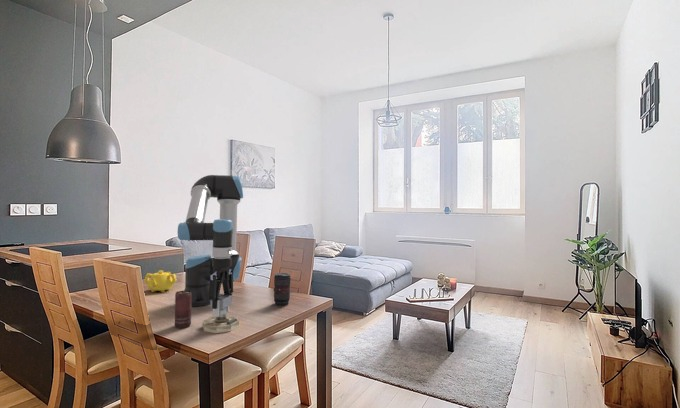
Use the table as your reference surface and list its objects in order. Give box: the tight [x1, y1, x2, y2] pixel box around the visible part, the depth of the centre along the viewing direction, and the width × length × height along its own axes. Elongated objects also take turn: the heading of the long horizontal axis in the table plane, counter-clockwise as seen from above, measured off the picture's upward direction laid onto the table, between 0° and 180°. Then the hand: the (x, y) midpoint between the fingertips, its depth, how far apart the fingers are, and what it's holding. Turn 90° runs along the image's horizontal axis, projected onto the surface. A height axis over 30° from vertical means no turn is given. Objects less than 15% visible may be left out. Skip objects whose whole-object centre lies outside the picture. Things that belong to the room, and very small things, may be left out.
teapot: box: [143, 270, 178, 293], centre depth 201 cm, size 20×18×11 cm
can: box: [174, 290, 192, 329], centre depth 147 cm, size 6×6×14 cm
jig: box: [201, 315, 240, 334], centre depth 147 cm, size 13×13×3 cm
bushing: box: [209, 293, 233, 320], centre depth 147 cm, size 6×6×9 cm
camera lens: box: [273, 272, 292, 307], centre depth 181 cm, size 8×8×15 cm
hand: (220, 313), depth 147 cm, fingers closed on bushing, 6 cm apart
